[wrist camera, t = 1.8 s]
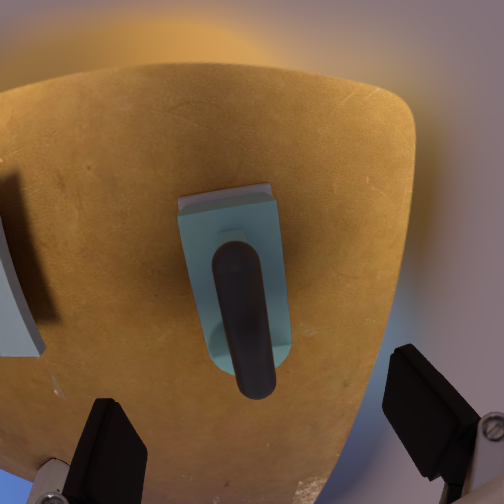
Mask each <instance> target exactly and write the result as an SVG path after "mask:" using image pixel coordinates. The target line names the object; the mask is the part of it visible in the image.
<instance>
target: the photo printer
mask: <svg viewBox="0 0 504 504" xmlns="http://www.w3.org/2000/svg"><path fill="white" fill-rule="evenodd" d="M69 468H70V466H69V465H67V464H66V463H64V462H62V461H60V460H58V459H56V460H55V459H51V460H49V461H48V462H47V463H45V464H44V465H43V466H42V467H41V468H40V469H39V471H38V473H37V475H36V478H35V480H34V483H33V486H32V488H31V491H30V494H29V497H28V500H27V503H26V504H36V501H37V499H38V498H39V497H40V496H41V495H43V494H45V493H48V492H56V493H59V494H61V493H62V490H63V487H64V484H65V481H66V477H67V474H68V471H69Z"/></svg>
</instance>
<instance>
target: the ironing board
mask: <svg viewBox="0 0 504 504" xmlns="http://www.w3.org/2000/svg"><path fill="white" fill-rule="evenodd" d="M45 349H46V345H45V343H44V341H43V339H42V337H41V335H40V333H39V331H38V328H37V326H36V324H35V322H34V319H33V317H32V315H31V312H30V310H29V307H28V305H27V302H26V300H25V297H24V294H23V292H22V289H21V286H20V283H19V281H18V278H17V275H16V272H15V269H14V265H13V262H12V259H11V256H10V252H9V249H8V245H7V242H6V238H5V234H4V230H3V226H2V222H1V217H0V356H11V357H40V356H41V355H42V353H43V352H44V351H45Z"/></svg>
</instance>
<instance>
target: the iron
mask: <svg viewBox="0 0 504 504" xmlns="http://www.w3.org/2000/svg"><path fill="white" fill-rule="evenodd" d="M177 204H178V209H179V214H178V216H177V222H178V227H179V232H180V236H181V241H182V246H183V251H184V255H185V260H186V264H187V269H188V273H189V277H190V282H191V286H192V290H193V294H194V298H195V302H196V307H197V311H198V314H199V318H200V322H201V326H202V330H203V334H204V337H205V341H206V345H207V349H208V352H209V356H210V358H211V359H212V361H213V362H214V363H215V364H216V365H217V366H218V367H219V368H220V369H221V370H223V371H225V372H226V373H229V374H231V375H235V377H236V381H237V385H238V388H239V390H240V391H241V393H242V394H243V395H244V396H246V397H248V398H250V399H254V400H259V399H263V398H266V397H267V396H269V395H270V394H271V393H272V392H273V391H274V389H275V386H276V372H275V368H276V367H278V366H279V365H280V364H281V363H282V362H283V361H284V360H285V358H286V357H287V355H288V353H289V351H290V348H291V344H292V337H291V326H290V316H289V306H288V296H287V286H286V277H285V268H284V259H283V250H282V241H281V233H280V224H279V216H278V208H277V201H276V200H275V199H274V198H273V196H272V189H271V184H270V183H261V184H254V185H247V186H241V187H235V188H228V189H222V190H216V191H211V192H205V193H199V194H194V195H188V196H183V197H179V198H178V199H177Z"/></svg>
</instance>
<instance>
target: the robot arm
mask: <svg viewBox="0 0 504 504" xmlns="http://www.w3.org/2000/svg"><path fill="white" fill-rule="evenodd" d="M382 409H383V412H384V414H385V416H386V417H387V419H388V420H389V422H390V424H391V425H392V427H393V429H394V430H395V432H396V434H397V435H398V437H399V439H400V440H401V442H402V443H403V445H404V447H405V448H406V450H407V452H408V453H409V455H410V457H411V458H412V460H413V462H414V463H415V465H416V467H417V468H418V470H419V472H420V473H421V475H422V476H423V477H428V479H429V481H432V480H434V479H436V478H438V477H440V476H441V477H442V478H443V480H444V481H445V484H444V488H443V492H442V495H441V499H440V502H439V504H504V413H501V412H490V413H488V414H486V415H484V416H483V417H482V418H481V417H480V416H479V415H478V414H477V413H476V412H475V411H474V409H473V408H472V407H471V406H470V405H469V404H468V403H467V402H466V400H465V399H464V398H463V397H462V396H461V395H460V394H459V393H458V392H457V390H456V389H455V388H454V387H453V386H452V385H451V384H450V383H449V382H448V381H447V380H446V379H445V377H444V376H443V375H442V374H441V373H440V372H438V371H437V370H436V369H435V368H434V367H433V365H431V363H430V362H429V361H428V360H427V359H426V358H425V357H424V356H423V355H422V354H421V353H420V352H419V351H418V350H417V349H416V348H415V346H414V345H412V344H407V345H404V346H401V347H398V348H396V349H395V350H394V353H393V354H391V356H390V363H389V369H388V375H387V382H386V387H385V392H384V397H383V403H382ZM147 455H148V453H147V448H146V446H145V445H144V443H143V442H142V440H141V439H140V437H139V436H138V434H137V432H136V431H135V429H134V428H133V426H132V424H131V423H130V421H129V419H128V418H127V416H126V414H125V412H124V411H123V409H122V407H121V405H120V404H119V403H118V402H115V401H114V399H112V398H97V399H96V400H95V402H94V404H93V407H92V409H91V412H90V414H89V417H88V419H87V422H86V425H85V427H84V430H83V433H82V435H81V437H80V440H79V442H78V445H77V448H76V451H75V454H74V457H73V459H72V462H71V465H70V468H69V471H68V474H67V477H66V481H65V484H64V487H63V490H62V493H61V494H59V493H56V492H48V493H45V494H43V495H41V496H40V497H39V498H38V499H37V501H36V504H141V499H142V491H143V483H144V476H145V469H146V462H147Z"/></svg>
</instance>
